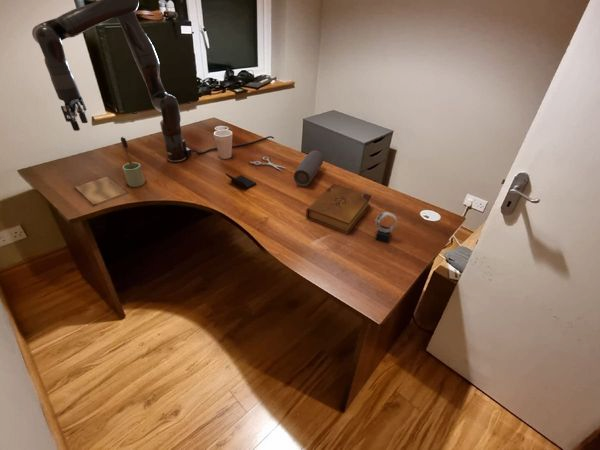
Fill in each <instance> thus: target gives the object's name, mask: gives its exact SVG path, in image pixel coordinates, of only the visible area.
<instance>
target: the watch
mask: <svg viewBox="0 0 600 450" xmlns="http://www.w3.org/2000/svg"><path fill="white" fill-rule="evenodd" d="M387 217H389V218H391V219H393V220H394V221H395V223H393V225H391V226H390V227H389V226H385V225H381V223H382V222H383V221H384V220H385V218H387ZM374 223H375V228H376V229H377V233H376V237H375V240H376V241H379V242H383V243H388V241H389V238H390V236H391V235H390V234H391V232H393V231H394V230H395V229H396V228H397V226H398V217H397V216H396V214H394V213H393V212H390V211H382V212H380V213H379V214H378V215H377V217H376V218H375V220H374Z"/></svg>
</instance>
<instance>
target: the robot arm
mask: <svg viewBox="0 0 600 450" xmlns="http://www.w3.org/2000/svg"><path fill="white" fill-rule="evenodd" d="M139 5H140V1H139V0H97V1H94V2H92V3H90V4H89V3H88V4H86V5H85V4H84V5H83V6H79V7H75V8H73V9H71V10H68V11H67V12H65V13H63V14H61V15H59V16H57V17H55V18H52V19H49V20H46V21H43V22H40V23H38V24H36V25H35V26H34V27H33V28H32V30H31V35H32V38H33V40H34V41H35V42H36V43H37V44H38V45H39V48H40V50H41V53H42V54H43V55H42V56H43V57H44V59H43V61H44V65H45V67H46V69H47V72H48V74H49V77H50V81H51V83H52V86H53V88H54V91H55V94H56V96H57V99H58V100H59V101H63V103H64V105H61V106H60V110H61V111H62V114H63V117H64V119H65V121H66V123H70V125H71V127H72V130H73V131H75V132H78V131H80V130H81V128H80V126H79V123H78V121H77V117H79V119H80V122H81V123H82V124H87V123H88V122H89V121H88V118H87V116H86V111H87V107H86V105H85V102H84V100H83V97H82V96H81V93H80V91H79V90H80V89H79V88H78V85H77V82H76V80H75V77H74V75H73V73H72V71H71V68H70V65H69V63H68V60H67V58H66V54H65V50H64V49H65V48H64V46H63V43H62V41H64V40H67V39H68V38H69V39H70V38H75V37H78V36H79V35H82V34H83V33H85V32H88V31H90V30H91V29H93V28H94V27H96V26H99V25H101V24H102V23H105V22H107V21H111V20H113V19H117V21H118V23H119V24H120V27H121V29H122V31H123V33H124V37H125V39H126V42H127V44H128V46H129V49H130V51H131V54H132V57H133V58H134V61H135V63H136V66H137V68H138V70H139V72H140V74H141V77H142V79H143V81H144V83H145V86H146V87H147V92H148V94H149V98H150V100H151V103H152V106H153V107H154V109H155V110H156V111H158V112H160V113H161V117H162V120H160V122H159V126H160V131H161V134H162V138H163V143H164V147H165V152H166V155H167V160H168V162H171V163H180V162H184V161H186V160H187V159H188V158H189V156H192V152H194V153H196V154H198V155H203V154H207V153H208V152H211V151H216V150H218V149H217V147H213V148H208V149H207V150H204V151H198V150H195V149H191V148H189V147H187V144H186V141H185V139H184V137H183V133H182V128H181V120H182V119H181V118H182V117H181V112H180V106H179V102H178V100H177V98H176V96H174V95H172V94H170V93H168V92H167V91H166V89H165V87H164V84H163V83H162V80H161V68H160V66H161V65H160V61H159V58H158V55H157V52H156V50H155V47H154V45H153V44H152V42H151V39H150V38H149V37H148V36H147V33H146V32H145V30H144V29H143V28H142V25H141V24H140V22H139V20H138V17H137V15H136V11H137V10H138V8H139ZM268 139H273V140H274V139H275V137H274V136H273V135H268V136H266V137H262V138H259V139H257V140H253V141H249V142H245V143H241V144H236V145H232V148H238V147H243V146H248V145H251V144H255V143H258V142H261V141H265V140H268Z"/></svg>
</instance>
